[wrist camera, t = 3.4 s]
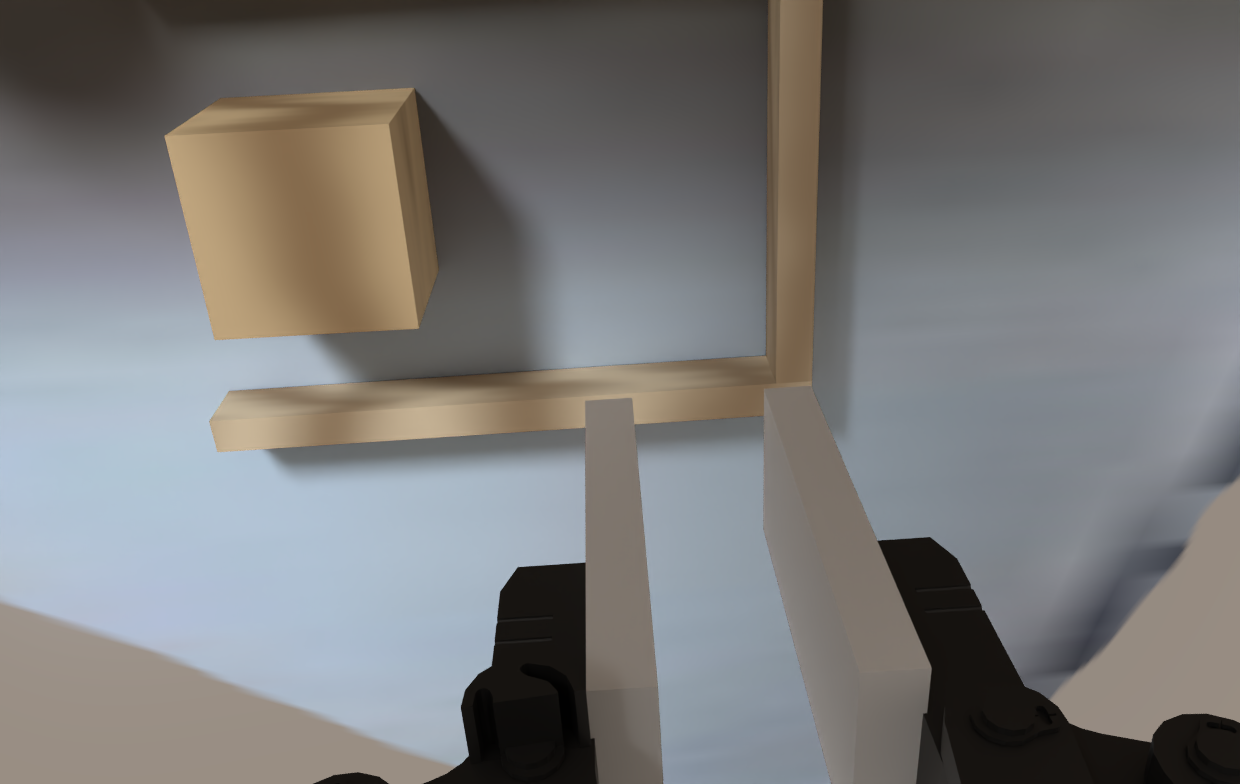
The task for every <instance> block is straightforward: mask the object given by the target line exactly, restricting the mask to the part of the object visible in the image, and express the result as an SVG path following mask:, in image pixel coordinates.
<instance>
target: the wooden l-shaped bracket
mask: <svg viewBox="0 0 1240 784" xmlns="http://www.w3.org/2000/svg"><path fill="white" fill-rule="evenodd" d="M822 15H823V0H768V96H767V261H766V356H751V357H736V358H721V359H706V360H691V361H676V362H661V363H646V364H631V365H616V366H601V367H586V368H571V369H555V370H540V371H525V372H510V373H495V374H480V375H465V376H450V377H435V378H420V379H405V380H390V381H375V382H360V383H345V384H330V385H315V386H300V387H285V388H270V389H255V390H240V391H229V392H228V394H227V395H226V397H225V398H224V400H223V401H222V403H221V404H220V406H219V407H218V409H217V410H216V412H215V413H214V415H213V416H212V418H211V419H210V421H209V422H210V426H211V430H212V433H213V437H214V441H215V444H216V448H217V452H228V451H243V450H258V449H273V448H288V447H303V446H318V445H333V444H348V443H363V442H378V441H393V440H408V439H423V438H438V437H453V436H468V435H483V434H498V433H513V432H528V431H543V430H558V429H573V428H585V401H589V400H604V399H619V398H632V402H633V413H634V424H649V423H664V422H679V421H694V420H709V419H724V418H739V417H754V416H764V389H769V388H784V387H799V386H811V387H812V361H813V327H814V292H815V257H816V223H817V188H818V153H819V119H820V84H821V49H822Z"/></svg>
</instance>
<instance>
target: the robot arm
mask: <svg viewBox="0 0 1240 784" xmlns="http://www.w3.org/2000/svg"><path fill="white" fill-rule="evenodd" d="M585 502H586V563H574V564H559V565H544V566H529V567H518V568H517V569H516V571H515V572H514V573H513V575H512V576H511V577H510V579H509V580H508V582H507V583H506V584H505V586H504V587H503V589H502V590H501V591H500V599H499V608H498V616H497V622H498V623H497V625H496V634H495V646H494V652H493V661H492V666H491V667H490V668H488V669H486V670H485V671H483V672H481V673H480V674H478V675H477V677H476V678H475V679H474V680H473V681H472V683H471V684H470V685H469V686H468V687H467V689H466V690H465V693H464V697H463V701H462V705H461V712H462V717H463V723H464V729H465V735H466V741H467V746H468V752H469V756H468V757H467V758H466V759H465V761H464V762H463V763H462V764H460V765H459V766H457V767H456V768H454V769H453V770H451V771H450V772H448V773H447V774H445V775H443V776H440V777H439V778H436V779H434V780H431V781H429V782H426V783H424V784H663V769H662V751H661V733H660V715H659V698H658V682H657V671H656V660H655V649H654V637H653V626H652V615H651V604H650V592H649V581H648V570H647V559H646V548H645V536H644V525H643V514H642V503H641V492H640V480H639V469H638V458H637V447H636V436H635V424H634V413H633V402H632V398H619V399H604V400H589V401H585ZM763 529H764V533H765V537H766V540H767V544H768V548H769V552H770V555H771V559H772V563H773V567H774V570H775V574H776V578H777V582H778V585H779V589H780V593H781V597H782V600H783V604H784V608H785V612H786V616H787V619H788V623H789V627H790V631H791V634H792V638H793V642H794V646H795V649H796V653H797V657H798V661H799V664H800V668H801V672H802V676H803V679H804V683H805V687H806V691H807V694H808V698H809V702H810V706H811V709H812V713H813V717H814V721H815V724H816V728H817V732H818V736H819V739H820V743H821V747H822V751H823V754H824V758H825V762H826V766H827V769H828V773H829V777H830V781H831V784H1240V723H1239V722H1236V721H1234V720H1231V719H1226V718H1222V717H1218V716H1213V715H1209V714H1182V715H1179V716H1177V717H1174V718H1171V719H1169V720H1166V721H1164V722H1163V723H1162V724H1161V725H1160V727H1159V728H1158V729H1157V730H1156V732H1155V733H1154V734H1153V738H1152V742H1151V743H1150V742H1145V741H1139V740H1134V739H1128V738H1123V737H1117V736H1111V735H1106V734H1101V733H1096V732H1093V731H1089V730H1085V729H1082V728H1079V727H1077V726H1075V725H1072V724H1070V723H1069V722H1068V721H1067V719H1066V718H1065V717H1064V715H1063V713H1062V712H1061V710H1060V709H1059V707H1058V706H1056V705H1055V704H1054V703H1052V702H1051V701H1050V700H1048V699H1047V698H1046V697H1044V696H1043V695H1042V694H1040V693H1039V692H1037V691H1034V690H1032V689H1029V688H1027V687H1025V686H1024V684H1023V682H1022V681H1021V679H1020V677H1019V675H1018V673H1017V671H1016V669H1015V667H1014V665H1013V664H1012V662H1011V660H1010V658H1009V656H1008V654H1007V652H1006V650H1005V648H1004V647H1003V645H1002V643H1001V641H1000V639H999V637H998V635H997V633H996V631H995V630H994V628H993V626H992V624H991V622H990V620H989V618H988V616H987V614H986V613H985V611H982V605H981V603H980V601H979V599H978V597H977V596H976V594H975V592H974V590H973V589H971V584H970V582H969V580H968V579H967V577H966V575H965V573H964V571H963V569H962V567H961V565H960V563H959V562H958V560H957V558H955V557H954V556H953V555H952V554H950V553H949V552H948V551H947V550H945V549H944V548H943V547H942V546H940V545H939V544H938V543H937V542H935V541H934V540H933V539H932V538H930V537H927V538H912V539H897V540H882V541H877V539H876V537H875V534H874V532H873V530H872V527H871V525H870V523H869V520H868V518H867V516H866V513H865V511H864V509H863V506H862V504H861V502H860V499H859V497H858V495H857V492H856V490H855V488H854V485H853V483H852V480H851V478H850V476H849V473H848V471H847V469H846V466H845V464H844V462H843V459H842V457H841V455H840V452H839V450H838V448H837V445H836V443H835V441H834V438H833V436H832V434H831V431H830V429H829V427H828V424H827V422H826V420H825V417H824V415H823V413H822V410H821V408H820V406H819V403H818V401H817V399H816V396H815V394H814V392H813V389H812V387H811V386H799V387H784V388H769V389H764V505H763ZM314 784H388V783H387V782H386V781H384V780H383V779H381V778H380V777H377V776H372V775H368V774H363V773H358V772H357V773H348V774H340V775H333V776H331V777H329V778H326V779H324V780H321V781H319V782H316V783H314Z"/></svg>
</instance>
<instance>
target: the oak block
mask: <svg viewBox="0 0 1240 784" xmlns="http://www.w3.org/2000/svg"><path fill="white" fill-rule="evenodd" d="M165 140H166V144H167V148H168V152H169V156H170V160H171V164H172V168H173V172H174V176H175V180H176V185H177V189H178V193H179V197H180V201H181V205H182V209H183V213H184V217H185V221H186V225H187V229H188V233H189V237H190V241H191V245H192V250H193V254H194V258H195V262H196V266H197V270H198V274H199V278H200V282H201V286H202V290H203V294H204V298H205V302H206V306H207V310H208V315H209V319H210V323H211V327H212V331H213V335H214V339H215V340H224V339H242V338H260V337H278V336H296V335H314V334H332V333H350V332H368V331H386V330H404V329H419V327H420V324H421V321H422V318H423V315H424V312H425V309H426V306H427V303H428V300H429V297H430V294H431V291H432V289H433V286H434V283H435V280H436V277H437V274H438V271H439V268H438V260H437V253H436V245H435V238H434V230H433V223H432V216H431V208H430V201H429V193H428V186H427V178H426V171H425V163H424V156H423V148H422V141H421V133H420V126H419V118H418V111H417V103H416V96H415V88H403V89H384V90H365V91H347V92H328V93H309V94H290V95H272V96H253V97H234V98H220V99H219V100H217V101H216V102H214V103H213V104H211V105H210V106H208V107H207V108H205V109H204V110H202V111H201V112H199V113H198V114H196V115H195V116H193V117H192V118H191V119H189V120H188V121H186V122H185V123H183V124H182V125H180V126H179V127H177V128H176V129H174V130H173V131H171V132H170V133H168V134H167V135H165Z"/></svg>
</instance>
